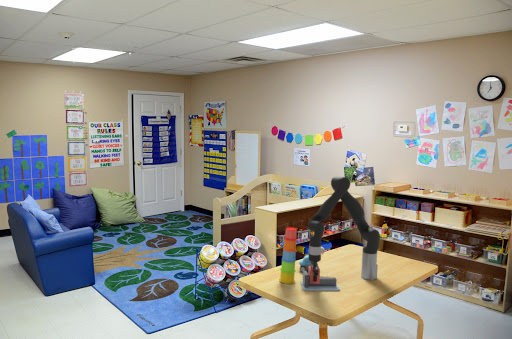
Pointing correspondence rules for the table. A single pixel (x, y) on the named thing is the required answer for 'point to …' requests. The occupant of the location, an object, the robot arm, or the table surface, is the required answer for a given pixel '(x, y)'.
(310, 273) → the red slotted block
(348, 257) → the table surface
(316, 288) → the base board
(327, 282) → the coupler rail
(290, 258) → the stacking cups
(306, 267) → the toy excavator
